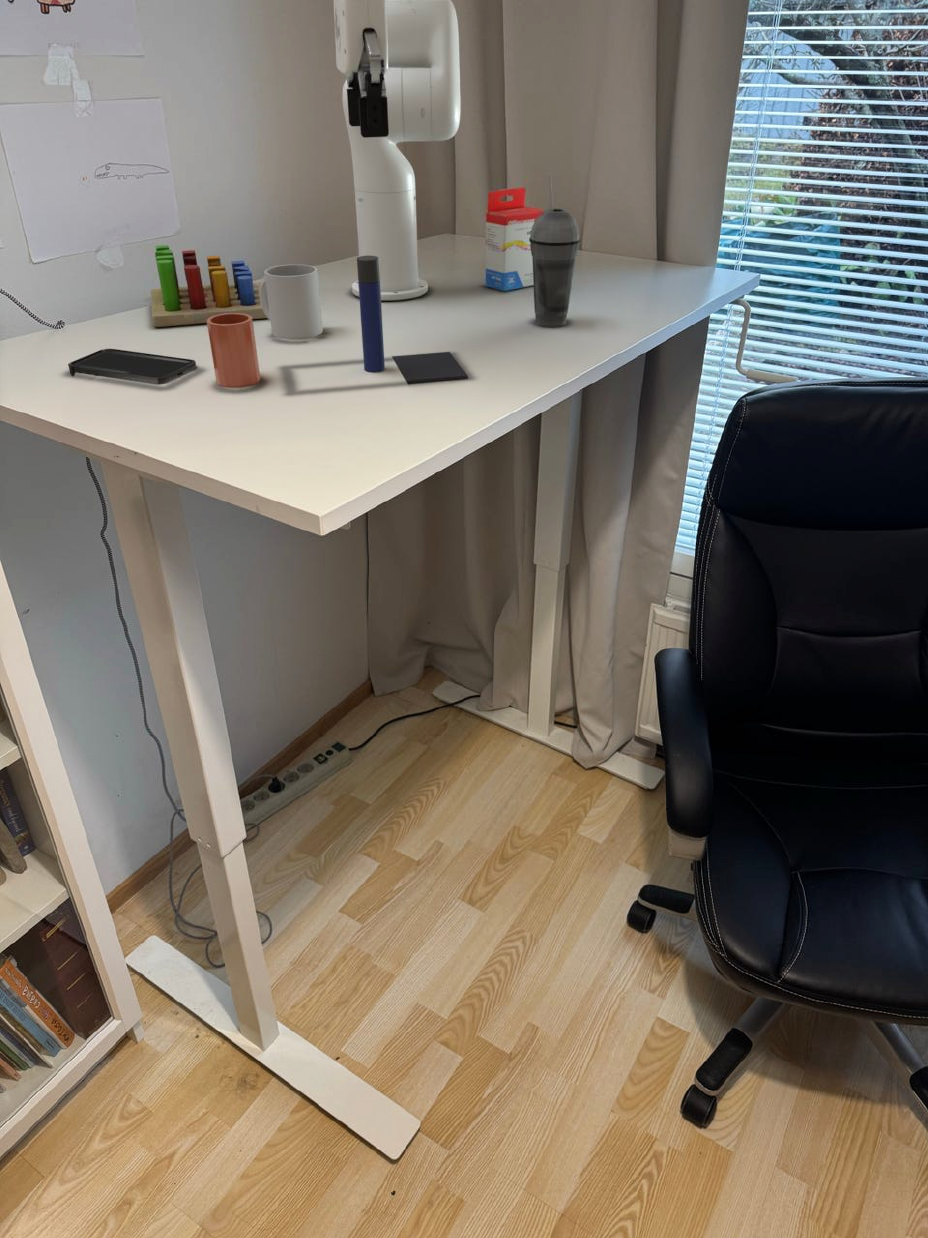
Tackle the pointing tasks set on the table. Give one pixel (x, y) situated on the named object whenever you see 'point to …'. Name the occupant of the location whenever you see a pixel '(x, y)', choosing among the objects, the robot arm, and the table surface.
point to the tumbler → (233, 349)
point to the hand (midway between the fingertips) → (368, 130)
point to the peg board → (201, 291)
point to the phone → (132, 366)
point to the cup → (292, 301)
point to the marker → (371, 313)
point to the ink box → (509, 240)
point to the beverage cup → (553, 263)
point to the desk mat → (429, 367)
